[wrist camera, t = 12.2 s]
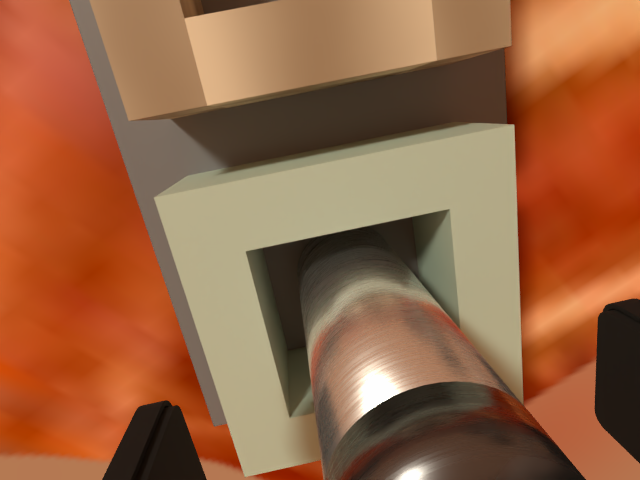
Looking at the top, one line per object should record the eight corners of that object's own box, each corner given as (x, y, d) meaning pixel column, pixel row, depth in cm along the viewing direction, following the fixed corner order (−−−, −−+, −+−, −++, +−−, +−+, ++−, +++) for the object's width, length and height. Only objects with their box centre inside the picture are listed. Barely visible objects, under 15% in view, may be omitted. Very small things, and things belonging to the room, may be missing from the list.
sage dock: (454, 121, 15) (514, 124, 11) (472, 350, 18) (523, 414, 14) (187, 175, 14) (153, 197, 11) (252, 398, 18) (245, 477, 14)
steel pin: (388, 214, 16) (614, 425, 5) (400, 304, 17) (601, 617, 6) (287, 236, 15) (313, 498, 5) (307, 325, 17) (361, 679, 6)
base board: (463, -328, 12) (487, -386, 11) (499, 342, 20) (516, 359, 18) (4, -251, 12) (-33, -301, 10) (219, 403, 19) (213, 426, 18)
